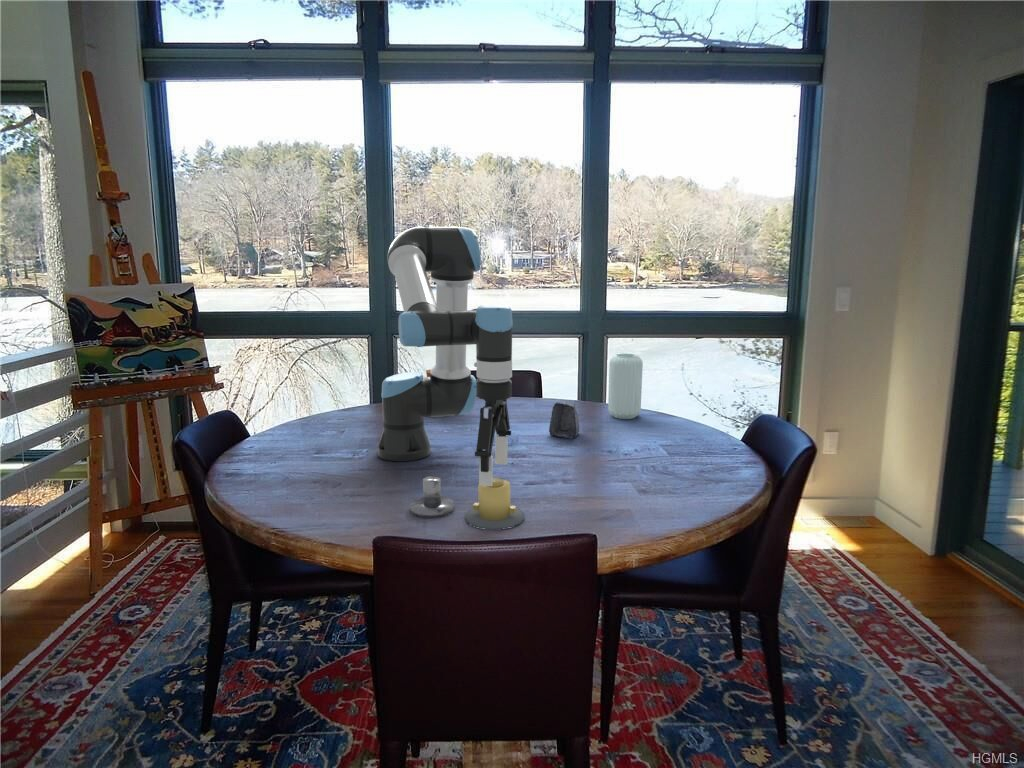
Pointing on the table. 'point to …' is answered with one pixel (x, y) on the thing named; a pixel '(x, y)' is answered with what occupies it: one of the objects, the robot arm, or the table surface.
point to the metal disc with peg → (432, 500)
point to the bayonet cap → (494, 501)
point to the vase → (625, 386)
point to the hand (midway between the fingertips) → (493, 474)
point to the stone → (564, 420)
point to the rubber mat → (511, 521)
